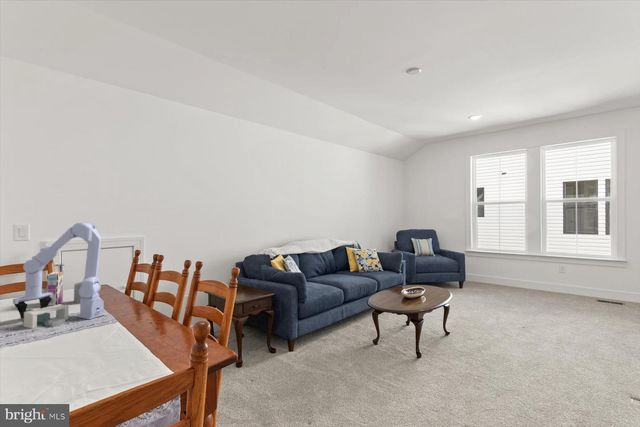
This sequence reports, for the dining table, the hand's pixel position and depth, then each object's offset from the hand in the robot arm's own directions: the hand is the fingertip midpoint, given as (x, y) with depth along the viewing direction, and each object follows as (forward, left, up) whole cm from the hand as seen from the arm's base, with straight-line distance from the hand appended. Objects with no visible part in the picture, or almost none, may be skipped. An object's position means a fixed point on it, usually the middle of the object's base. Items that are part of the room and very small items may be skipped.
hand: (33, 316), depth 151 cm
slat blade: (-3, 0, -2) cm, 3 cm away
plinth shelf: (-11, +1, -1) cm, 11 cm away
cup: (+10, -29, -2) cm, 31 cm away
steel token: (-16, +1, -2) cm, 16 cm away
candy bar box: (+19, -20, -2) cm, 28 cm away
